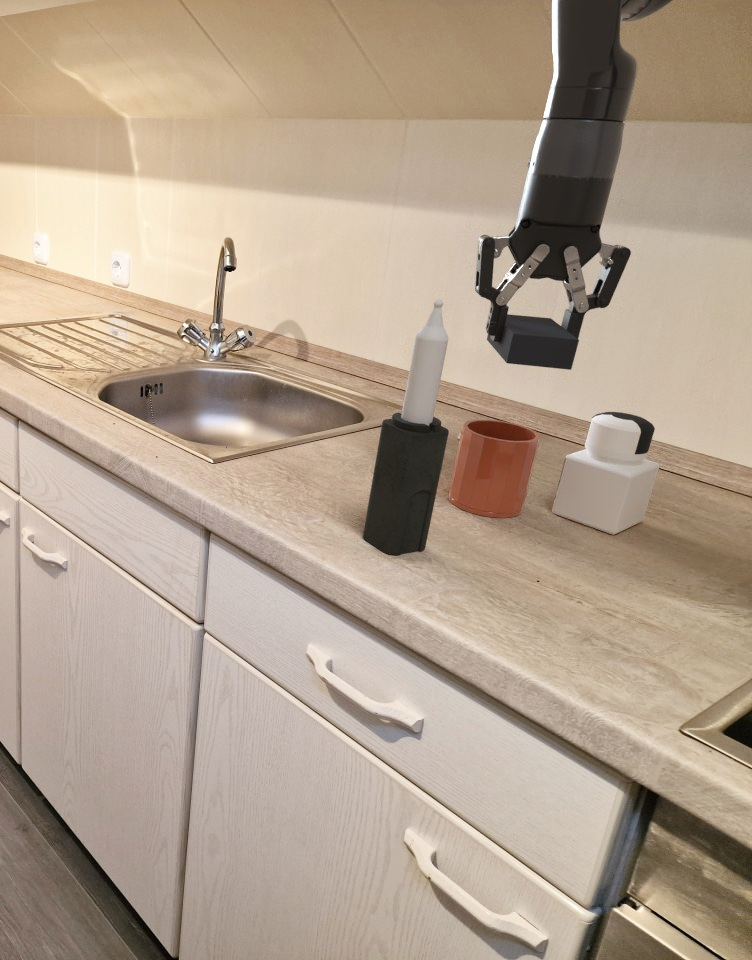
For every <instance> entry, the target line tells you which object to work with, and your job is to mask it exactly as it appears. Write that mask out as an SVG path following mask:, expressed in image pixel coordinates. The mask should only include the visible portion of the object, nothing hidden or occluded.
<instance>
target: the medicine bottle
mask: <svg viewBox="0 0 752 960" xmlns="http://www.w3.org/2000/svg"><path fill="white" fill-rule="evenodd" d="M655 430H656V429H655V425H654V424H653V423H652V422H650V421H649V420H647V419H646V418H644V417H642V416H639V415H636V414H635V415H634V414H632V413H626V412H619V411H604V412H599V413H596V414H594V415H593V416H592V417H591V419H590V423H589V427H588V431H587V435H586V439H585V442H584V448H585V449H581V450H578V451H575V452H573V453H570V454H567V455H566V456H565V458H564V462H563V465H562V469H561V473H560V477H559V480H558V485H557V488H556V492H555V496H554V499H553V504H552V508H551V513H552V514H554V515H556V516H558V517H559V516H560V517H562V518H565V519H568V520H570V521H573V522H576V523H579V524H581V525H585V526H587V527H590V528H593V529H595V530H598V531H601V532H604V533H607V534H610V535H611V536H612V535H613V536H615V535H617V534H618V533H621V532H623V531H625V530H627V529H629V528H631V527H633V526H635V525H637V524H640V523H641V522H643V521H644V519H645V516H646V513H647V510H648V505H649V502H650V499H651V496H652V493H653V490H654V486H655V483H656V480H657V476H658V473H659V470H660V463H658V462H656V461H653V460H649V459H647V458H648V454H649V450H650V447H651V443H652V441H653V436H654V434H655Z"/></svg>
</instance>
